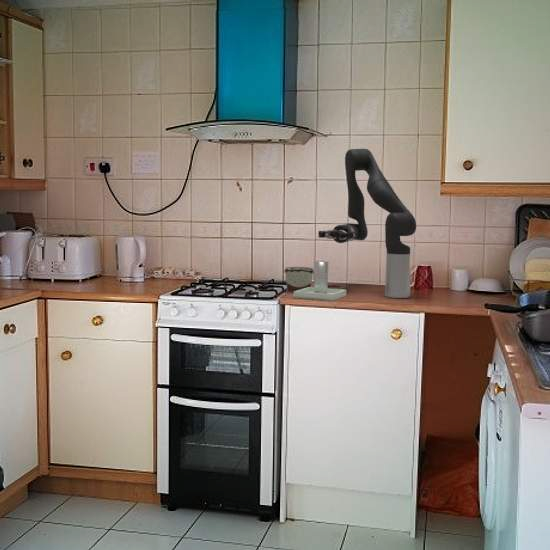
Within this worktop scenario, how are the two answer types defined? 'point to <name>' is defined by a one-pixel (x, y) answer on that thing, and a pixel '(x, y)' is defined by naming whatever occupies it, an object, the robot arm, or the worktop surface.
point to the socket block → (337, 287)
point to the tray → (320, 294)
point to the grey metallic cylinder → (320, 277)
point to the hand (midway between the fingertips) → (331, 235)
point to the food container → (298, 278)
